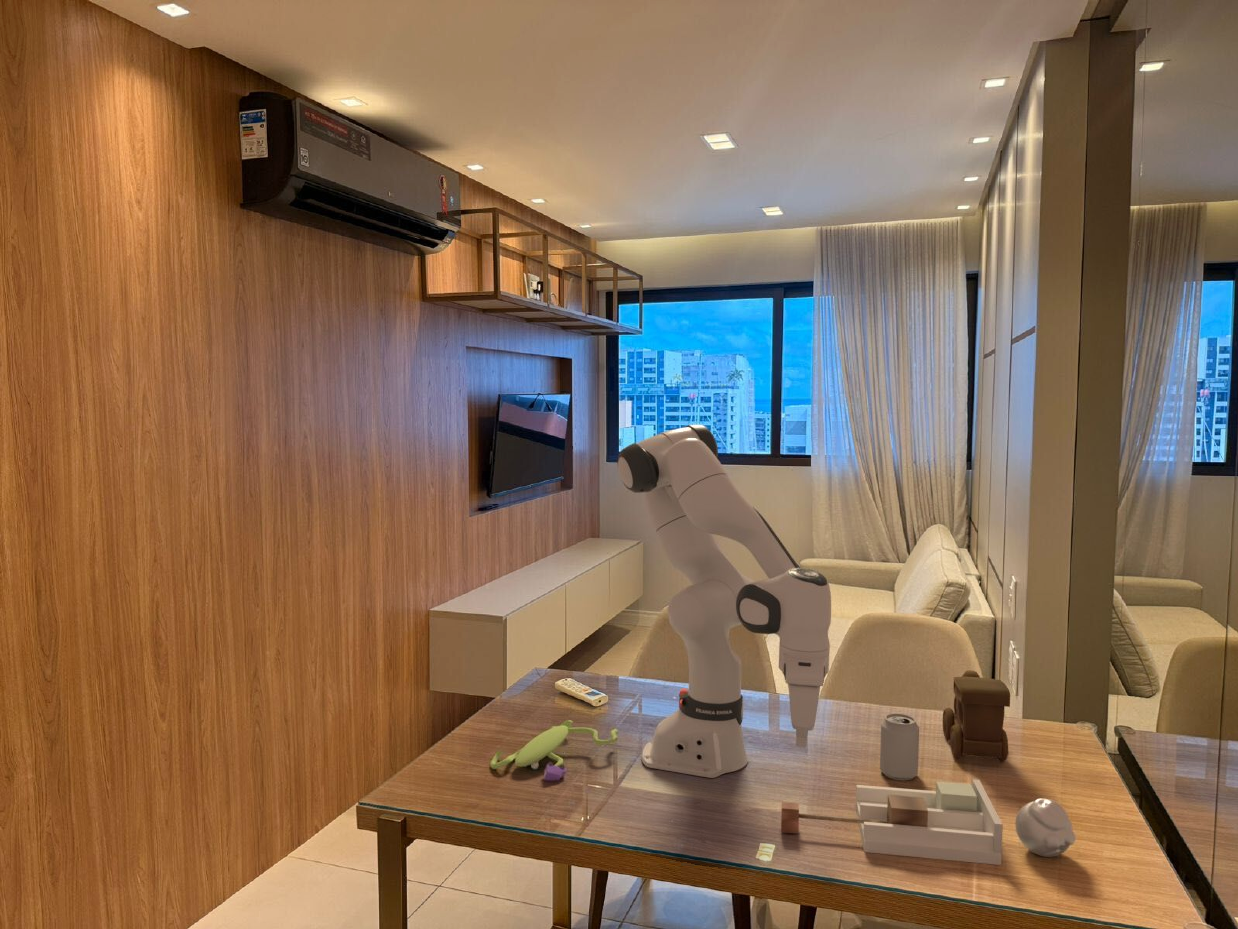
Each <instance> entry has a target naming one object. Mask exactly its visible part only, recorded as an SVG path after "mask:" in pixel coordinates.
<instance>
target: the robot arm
mask: <svg viewBox="0 0 1238 929" xmlns="http://www.w3.org/2000/svg"><path fill="white" fill-rule="evenodd" d="M718 448H719V447H718V445H717V440H716V438H715V437H714V434H713V433H712V431H711V430H709V429H708V427H706V426H705V425H702V424H689V425H685V426H684V427H680V428H673V429H671V430H666V431H663V432H660V433H658V434H656V435H653V436H650V437H648V438H646V439H644V440H641V441H639V442H637V443H636V442H634V443H631V444H629V445H627V446H626V447H624V448H623V449H621V450H620V451H619V454H618V457H617V462H616V464H617V469H618V474H619V477H620V479H621V481H622V483H623V485H624V486H625V488H627V489H628V490H629V491H631V492H633V493H635V494H637V493H638V494H640V493H642V494H643V493H644V495H645V500H646V505H647V509H648V512H649V516H650V519H651V522H652V525H653V528H654V530H655V533H656V535H657V537H658V539H659V540H658V541H659V542H660V545H661V547H662V549H663V551H664V555H665V556H666V558H667V561H668V563H669V564H670V566H671V567H673V568H674V569H676V570H677V571H679V572H681V573H682V574H683V576H685V577H686V578H687V579H688V580H689V582H690V583H691V584H692V585H688V586H687V587H685V588H683V589H682V590H680V591H679V592H677V593H676V594H675V595H674V596H672V597H671V600H670V601H669V602H668V603H669V604H668V605H667V606H668V607H667V617H668V622H669V624H670V626H671V628H672V630H673V631H674V632H675V633H676V634H677V635H678V636H680V637H681V639H682V641H683V643H684V648H685V650H686V654H687V660H688V661H687V662H688V689H687V688H685V687H682V688H681V689H680V690H679V693H678V698H679V699H678V708H679V709H677V710H676V711H675V712H673V713H671V714H670V715H669V716H667V717H665V718H664V719H662V720H661V721H660V722H659V724H658V725H657V726H656V728H655V730H654V734H653V736H652V737H653V738H652V740H650V741H648V742H647V743H646V744H645V745H644V747H643V749H642V754H641V761H642V763H643V764H644V766H645V767H646V768H651V769H657V770H662V771H667V772H673V773H680V774H686V775H692V776H698V777H704V778H709V779H714V778H717V777H720V776H721V775H723V774H727V773H732V772H736V771H739V770H741V769H743V768H744V767H745V766H747V764H748V761H749V760H748V756H747V753H746V747H745V742H744V736H743V726H742V723H743V720H744V698H743V694H742V661H741V659H740V657H739V655H738V654H737V653H736V652H734V651H733V649H732V646H731V642H730V635H729V634H730V630H731V629H732V628H735V627H737V626H740V625H742V626H743V627H744V628H745V629H746V630H748V631H749V632H750V633H754V634H761V635H765V634H766V635H777V636H778V637H779V642H778V643H779V647H778V648H779V649H778V669H779V670H780V672H781V673H782V674H783V677H784V681H785V684H787V687H788V688H787V689H788V697H789V711H790V722H791V726H792V729H793V730H795V736H796V737H795V738H796V739H795V740H796V742H795V746H796V747H798V748H806V747H807V745H808V734H809V731H813V730H814V727H815V725H816V719H817V713H818V712H817V711H818V707H819V706H818V705H819V699H820V689H821V687H824V683H825V678H826V676H827V675H828V673H829V672H830V651H831V650H830V647H831V645H830V644H831V643H830V639H829V630H830V626H831V623H832V596H831V588H830V583H829V581H828V579H827V578H826V576H825V575H823V574H822V573H820V572H819V571H816V570H813V569H811V568H803V567H800V565H799V564H798V563H797V562H796V560H795V559H794V558H793V556H792V555H791V554H790V553H789V551H788V549H787V548H786V547H785V545H784V544H783V543H782V541H781V539H780V538H779V537H778V535H777V534H776V532H775V531H774V530H773V528H772V527H771V526H770V524H769V523H768V522H767V521H766V519H765V518H764V516H763V515H762V514H761V513H760V511H758V510H757V509H756V508H755V507H754V506H752V505H751V504H750V503H749V502H748V501H747V500H746V499H745V497H744V496H743V495H742V494H741V493H740V492H739V490H738V488H737V487H736V486H735V484H734V482H733V481H732V480H731V478H730V476H729V474H728V473H727V472H726V469H725V468H724V466H723V465H722V463H721V461H720V460H719V459H718V456H719V449H718ZM714 535H715V536H720V537H722V538H723V537H724V538H727V539H730V540H732V541H735V542H737V543H739V544H741V545H742V546H743V547H745V548H746V549H747V550H748V551H749V552H750V554H752V556H753V557H754V559H755V560H756V562H757V564H758V565H759V567H760V568H761V569H762V571H763V572H764V573H765V575H766V577H767V579H762V580H758V581H757V580H756V581H754V580H753V579H752V578H750V577H748V576H746V575H745V574H743V573H742V572H741V571H739V570H738V568H737V567H736V566H735V565H734V564H733V563H732V562H731V560H730V558H728V557H727V554H725V552H724V551H723V550H722V548H721V547H720V546H719V544H718V541H717V540H716V538H715V536H714Z"/></svg>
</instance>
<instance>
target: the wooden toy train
mask: <svg viewBox="0 0 1238 929" xmlns="http://www.w3.org/2000/svg"><path fill="white" fill-rule="evenodd" d="M953 693H954V699H953V709H952V708H951V707H946V708H944V710H943V711H942V732H943V737H945V739H946V740H949V742H950V743H949V744H950V752H951V755H952V756H953V757H954V758H956V759H960V758H962V756H970V757H981V758H993V759H996V760H997V761H998V762H1000V763H1002V762H1005V761H1007V759H1008V756H1009V741H1008V740H1009V739H1008V735H1007V731H1006V730H1005V729H1004V723H1005V722H1004V720H1005V707H1007V708H1010V707H1011V692H1010V689H1009V688H1008V686H1007V684H1006V683H1004V682H1003V681H1002V680H1000V679H995V678H989V677H988V678H987V677H980V675H979V673H978V672H977V671H975V670H966V671H964V673H963V674H962V675H961V676H953Z"/></svg>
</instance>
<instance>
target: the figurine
mask: <svg viewBox="0 0 1238 929" xmlns="http://www.w3.org/2000/svg"><path fill="white" fill-rule="evenodd" d="M573 723H574V722H573V720H570V719H567V720H565V721H563V722H562V723H561V724H560V725H557V726H555V725H554V726H553V725H552V726H551V727H550V728H549V729H548V730H545V731H543V732H541V733H540V734H538V735H537V736H535V737H534V738H532V740H530V741H529V742H527V743H526V744H525V745H524V747H522V748H520V749H519V750H517V751H516V752H514V753H513V754H510V755H508V756H507V757H506V758H504V759H503V760H501V761H499V760H500V759H501V757H502V756H503V754H504V753H503V752H504V751H503V750H501V749H498V751H497V752H496V753H495V755H494V757H492V760H490V763H489V766H490V768H491V769H492V770H498V769H500V768H503V767H505V766H507V765H508V764H510V763H511V762H513V760H514V759H515V760H514V765H515V766H517V767H520V768H521V767H524V768H526V767H527V766H531V769H533V770H537V769H538V768H539V762H540V761H541V760H543V759H544V758H546V757H548V758H549V759H552V760H553V761H557V762H556V763H555V764H554V763H553V762H552V761H548V763H547V764H546V766H545V769H544V770H543V780H544V781H548V782H549V781H550V782H551V781H559V780H560V779H561V778H564V777H565V776H566V773H567V770H568V769H567V768H566V767H565V765H564V759H563V758H562V757H560V756H559V755H557V754H555V753H553V752H554V751H555V750H557V748H559V747H560V745H561V744H562V743H563V742H564V741H565V740H566V737H567V736H568V734H574V733H575V734H589V735H592V741H593V744H595V745H597V746H604V745H606V746H607V745H610V744H614V743H615V742H616V741H617V740H618V736H617V735H618V734H619V730H618V729H616V728H613V729H612V730H610V737H611V739H603V740H602V739H599V734H598V731H597V730H596V729H594V728H590V727H582V726H581V727H577V726H576V727H572V726H573Z"/></svg>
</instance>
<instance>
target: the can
mask: <svg viewBox="0 0 1238 929" xmlns="http://www.w3.org/2000/svg"><path fill="white" fill-rule="evenodd" d="M919 744H920V726H919V725H918V724H917V719H916V718H915V717H914V716H911V715H909V714H906V713H898V712H893V713H892V712H891V713H887V714H886V715H885V716H884V719H883V720H882V721H881V724H880V755H879V769H880V771H881V772H882V773H883V774H884V775H885V776H886V777H888V778H889V779H893V780H895V781H910V780H913V779H914V777H916V776H918V772H919V751H920V750H919Z"/></svg>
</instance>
